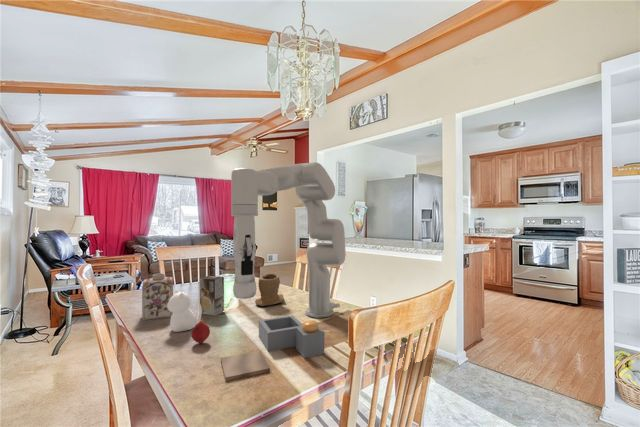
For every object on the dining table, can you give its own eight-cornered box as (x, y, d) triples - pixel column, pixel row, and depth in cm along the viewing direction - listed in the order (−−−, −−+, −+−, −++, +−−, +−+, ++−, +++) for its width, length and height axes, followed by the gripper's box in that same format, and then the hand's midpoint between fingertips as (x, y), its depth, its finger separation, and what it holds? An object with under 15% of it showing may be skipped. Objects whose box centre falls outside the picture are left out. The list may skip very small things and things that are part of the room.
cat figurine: (164, 329, 115) (164, 290, 115) (197, 321, 123) (197, 285, 123) (171, 336, 108) (170, 295, 108) (205, 327, 116) (205, 289, 116)
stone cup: (261, 309, 139) (261, 277, 139) (252, 303, 149) (252, 273, 149) (290, 304, 147) (290, 274, 147) (280, 299, 157) (280, 270, 157)
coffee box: (224, 311, 136) (224, 276, 136) (215, 316, 130) (215, 279, 130) (209, 309, 139) (209, 275, 140) (198, 313, 133) (198, 277, 134)
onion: (198, 348, 98) (198, 324, 98) (187, 344, 101) (187, 321, 101) (213, 342, 103) (213, 319, 103) (202, 338, 106) (202, 316, 106)
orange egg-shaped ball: (314, 337, 99) (314, 319, 99) (320, 343, 95) (320, 324, 95) (300, 340, 97) (300, 321, 97) (305, 346, 93) (305, 326, 93)
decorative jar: (173, 309, 140) (173, 271, 140) (173, 316, 129) (173, 275, 130) (144, 312, 135) (144, 273, 135) (141, 321, 124) (141, 277, 124)
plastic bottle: (250, 302, 83) (250, 230, 83) (228, 300, 84) (228, 230, 84) (260, 295, 89) (260, 229, 89) (239, 294, 91) (239, 228, 91)
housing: (300, 329, 114) (300, 311, 114) (324, 353, 94) (324, 331, 94) (258, 336, 108) (258, 317, 108) (275, 364, 88) (275, 340, 88)
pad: (260, 353, 94) (260, 350, 94) (269, 371, 83) (269, 368, 83) (220, 361, 90) (220, 357, 90) (225, 381, 79) (225, 377, 79)
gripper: (227, 211, 93) (227, 268, 93) (235, 210, 78) (236, 279, 77) (251, 211, 96) (251, 267, 96) (264, 210, 81) (264, 277, 81)
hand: (244, 272), depth 87 cm, fingers closed on plastic bottle, 6 cm apart
